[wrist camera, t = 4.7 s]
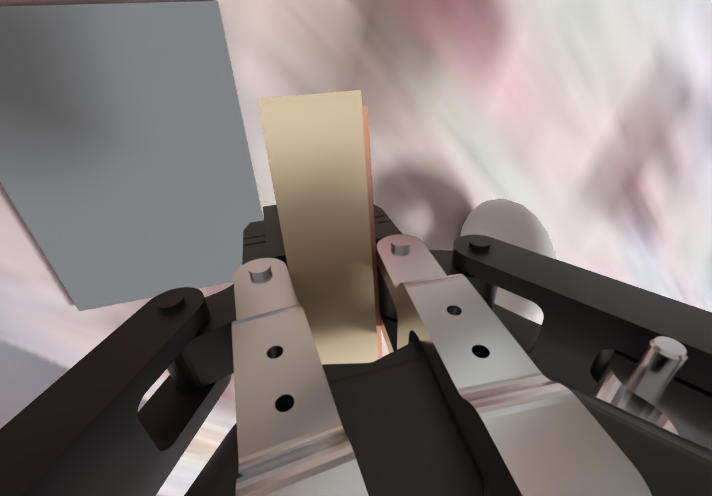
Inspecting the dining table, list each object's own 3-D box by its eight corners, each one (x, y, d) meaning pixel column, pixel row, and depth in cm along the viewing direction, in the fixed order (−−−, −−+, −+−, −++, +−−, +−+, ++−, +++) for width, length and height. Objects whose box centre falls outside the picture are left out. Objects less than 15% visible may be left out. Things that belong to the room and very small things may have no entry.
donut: (456, 184, 29) (541, 239, 21) (492, 178, 30) (588, 229, 21) (447, 279, 34) (512, 353, 26) (477, 272, 35) (550, 342, 26)
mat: (-96, 10, 16) (-107, 9, 15) (217, 2, 19) (217, 0, 18) (82, 306, 25) (79, 311, 25) (273, 269, 28) (274, 273, 28)
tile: (260, 100, 13) (257, 98, 6) (318, 95, 13) (370, 89, 7) (296, 304, 16) (317, 430, 10) (341, 295, 17) (388, 411, 10)
